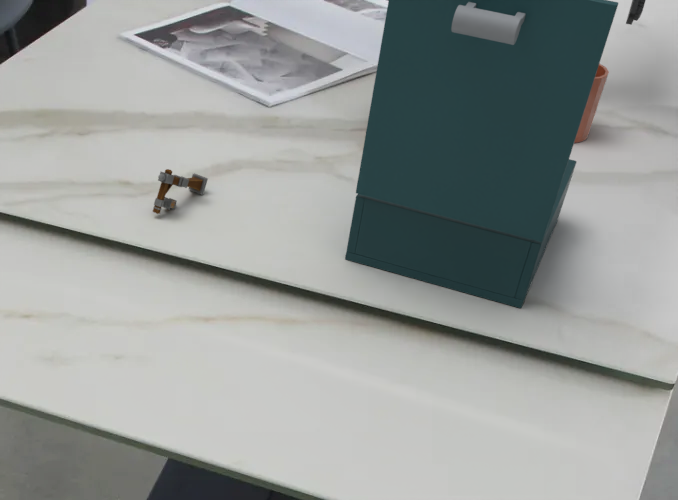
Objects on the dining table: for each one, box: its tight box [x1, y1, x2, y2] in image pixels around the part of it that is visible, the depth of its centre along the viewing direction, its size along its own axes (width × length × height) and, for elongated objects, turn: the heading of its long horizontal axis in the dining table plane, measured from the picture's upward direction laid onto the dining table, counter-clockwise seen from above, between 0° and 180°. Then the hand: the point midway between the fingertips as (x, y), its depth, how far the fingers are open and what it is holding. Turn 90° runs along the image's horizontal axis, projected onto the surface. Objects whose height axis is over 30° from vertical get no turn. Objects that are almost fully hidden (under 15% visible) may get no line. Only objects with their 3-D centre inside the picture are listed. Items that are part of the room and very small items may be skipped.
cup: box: [574, 62, 610, 144], centre depth 127 cm, size 7×7×8 cm
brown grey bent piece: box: [152, 168, 209, 215], centre depth 108 cm, size 2×8×4 cm, turn 145°
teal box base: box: [344, 158, 577, 309], centre depth 105 cm, size 20×18×7 cm
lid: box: [355, 0, 619, 242], centre depth 87 cm, size 21×18×5 cm
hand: (594, 15), depth 127 cm, fingers open, 8 cm apart
